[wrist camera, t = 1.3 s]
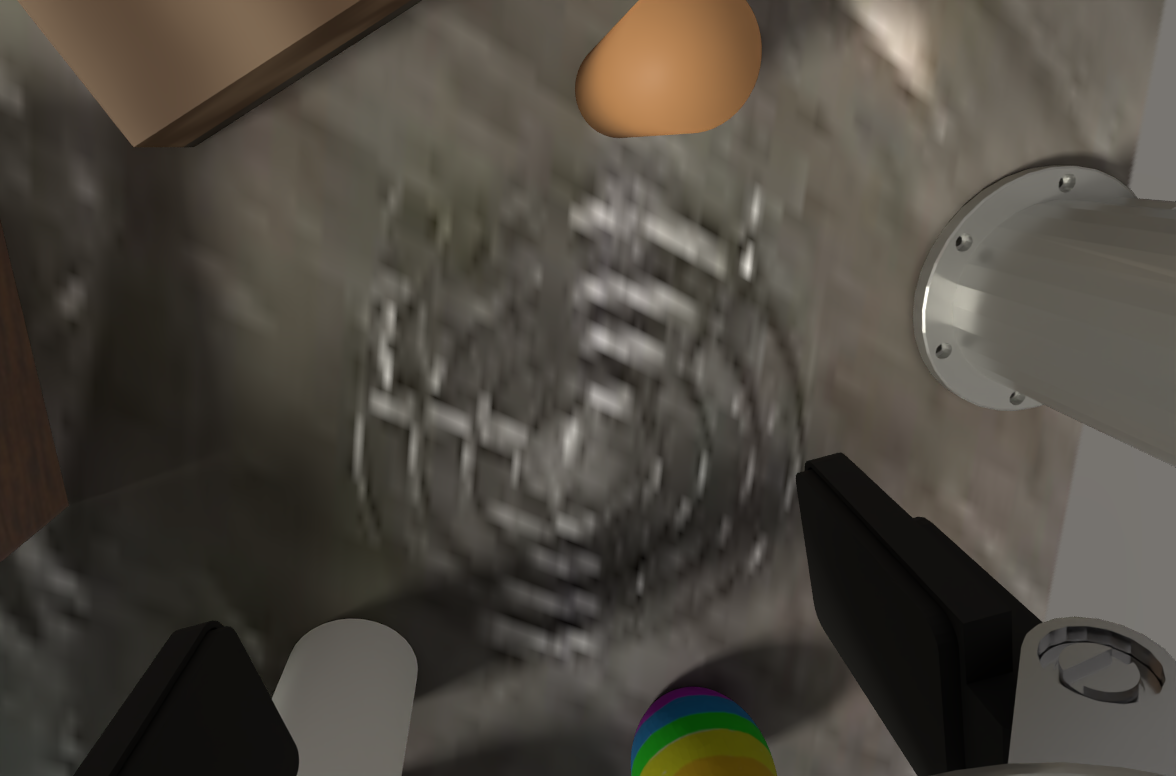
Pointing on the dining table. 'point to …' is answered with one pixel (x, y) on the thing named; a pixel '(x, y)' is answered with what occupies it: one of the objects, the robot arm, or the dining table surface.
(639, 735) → the decorative egg
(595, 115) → the pin
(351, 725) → the cylindrical container
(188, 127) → the block
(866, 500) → the robot arm
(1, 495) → the tissue box cover
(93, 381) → the dining table surface
